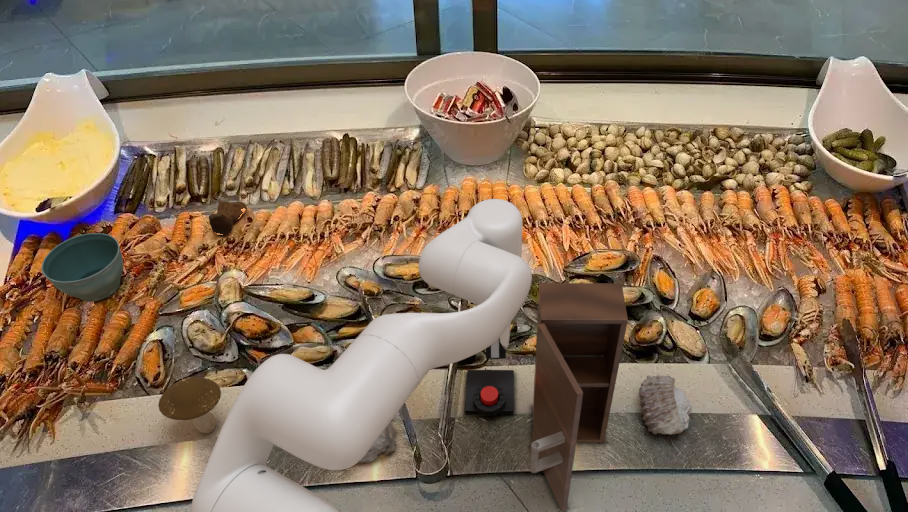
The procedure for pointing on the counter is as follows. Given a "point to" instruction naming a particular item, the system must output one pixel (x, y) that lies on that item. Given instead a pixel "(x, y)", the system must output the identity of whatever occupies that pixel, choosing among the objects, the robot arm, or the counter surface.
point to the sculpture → (226, 217)
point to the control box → (494, 378)
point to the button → (489, 395)
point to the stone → (381, 445)
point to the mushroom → (192, 402)
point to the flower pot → (85, 266)
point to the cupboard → (587, 344)
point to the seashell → (664, 405)
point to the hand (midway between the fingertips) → (496, 354)
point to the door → (554, 417)
